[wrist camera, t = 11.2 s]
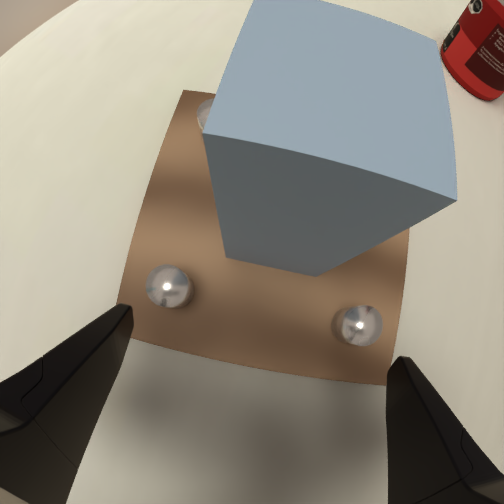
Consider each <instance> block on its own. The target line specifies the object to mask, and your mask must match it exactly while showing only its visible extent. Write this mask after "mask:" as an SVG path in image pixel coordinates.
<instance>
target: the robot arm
mask: <svg viewBox="0 0 504 504" xmlns="http://www.w3.org/2000/svg"><path fill="white" fill-rule="evenodd" d="M133 328H134V318H133V309H132V306H130V305H128V304H124V303H119V304H117V305H116V306H114V307H113V308H111V309H110V310H108V311H107V312H105V313H104V314H102V315H101V316H99V317H98V318H97V319H95V320H94V321H92V322H91V323H89V324H88V325H86V326H85V327H83V328H82V329H80V330H79V331H78V332H76V333H75V334H73V335H72V336H70V337H69V338H67V339H66V340H65V341H63V342H62V343H60V344H59V345H57V346H56V347H55V348H53V349H52V350H50V351H49V352H47V353H46V354H45V355H43V357H40V358H39V359H37V360H36V361H35V362H33V363H32V364H30V365H29V366H27V367H26V368H24V369H23V370H21V371H19V372H18V373H16V374H14V375H13V376H11V377H9V378H7V379H6V380H4V381H2V382H0V504H66V501H67V499H68V496H69V493H70V490H71V487H72V485H73V482H74V479H75V477H76V474H77V471H78V468H79V466H80V463H81V460H82V458H83V455H84V453H85V450H86V448H87V445H88V443H89V440H90V438H91V435H92V433H93V430H94V428H95V426H96V423H97V421H98V418H99V416H100V414H101V411H102V409H103V407H104V404H105V402H106V400H107V397H108V395H109V393H110V390H111V388H112V386H113V384H114V381H115V379H116V377H117V375H118V373H119V370H120V368H121V365H122V362H123V359H124V356H125V352H126V349H127V346H128V343H129V340H130V337H131V334H132V331H133ZM386 427H387V448H388V504H504V474H502V473H501V472H500V471H499V470H498V469H497V467H496V466H495V465H494V464H493V463H492V462H491V460H490V459H489V458H488V457H487V456H486V455H485V453H484V452H483V451H482V450H481V449H480V447H479V446H478V445H477V444H476V443H475V441H474V440H473V439H472V437H471V436H470V435H469V433H468V432H467V431H466V429H465V428H464V427H463V425H462V424H461V423H460V421H459V420H458V419H457V417H456V416H455V415H454V413H453V412H452V411H451V409H450V408H449V407H448V405H447V404H446V403H445V401H444V400H443V399H442V397H441V396H440V395H439V394H438V392H437V391H436V390H435V388H434V387H433V386H432V384H431V383H430V382H429V381H428V379H427V378H426V377H425V376H424V374H423V373H422V372H421V370H420V369H419V368H418V367H417V365H416V364H415V363H414V362H413V360H412V359H411V358H410V357H405V356H399V357H398V358H397V359H396V360H395V362H394V363H393V364H392V366H391V367H390V368H389V370H388V372H387V387H386Z"/></svg>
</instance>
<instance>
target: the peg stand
mask: <svg viewBox="0 0 504 504" xmlns="http://www.w3.org/2000/svg"><path fill="white" fill-rule="evenodd" d="M215 96H216V94H212V93H205V92H197V91H189V90H183V92H182V95H181V97H180V100H179V102H178V105H177V107H176V110H175V112H174V115H173V117H172V120H171V122H170V125H169V128H168V130H167V133H166V135H165V138H164V141H163V144H162V146H161V149H160V152H159V155H158V158H157V161H156V163H155V166H154V169H153V172H152V175H151V178H150V181H149V184H148V188H147V191H146V194H145V197H144V200H143V203H142V207H141V210H140V213H139V217H138V220H137V224H136V227H135V231H134V234H133V238H132V242H131V245H130V249H129V253H128V257H127V261H126V265H125V269H124V273H123V277H122V281H121V285H120V290H119V294H118V299H117V303H116V305H117V304H119V303H124V304H128V305H130V306H132V309H133V318H134V328H133V331H132V334H131V337H130V338H133V339H137V340H140V341H144V342H147V343H151V344H154V345H158V346H162V347H165V348H169V349H173V350H177V351H181V352H185V353H189V354H193V355H197V356H202V357H206V358H210V359H215V360H219V361H224V362H229V363H233V364H238V365H243V366H248V367H253V368H259V369H264V370H270V371H275V372H281V373H287V374H294V375H300V376H307V377H314V378H321V379H328V380H336V381H345V382H354V383H363V384H374V385H385V386H386V384H387V372H388V370H389V368H390V366H391V361H392V357H393V352H394V346H395V341H396V336H397V330H398V324H399V318H400V311H401V305H402V298H403V290H404V282H405V273H406V264H407V254H408V242H409V228H408V229H406V230H404V231H402V232H401V233H399V234H397V235H395V236H393V237H391V238H390V239H388V240H386V241H384V242H382V243H380V244H378V245H377V246H375V247H373V248H371V249H369V250H367V251H365V252H363V253H361V254H359V255H358V256H356V257H354V258H352V259H350V260H348V261H346V262H344V263H342V264H340V265H338V266H336V267H334V268H332V269H330V270H328V271H327V272H325V273H323V274H321V275H319V276H317V277H314V276H309V275H304V274H300V273H295V272H290V271H285V270H281V269H276V268H272V267H267V266H262V265H258V264H253V263H248V262H244V261H239V260H235V259H230V258H226V255H225V250H224V245H223V240H222V235H221V230H220V225H219V220H218V215H217V209H216V204H215V199H214V194H213V188H212V183H211V177H210V172H209V167H208V161H207V156H206V150H205V144H204V139H203V130H204V127H205V124H206V121H207V118H208V115H209V112H210V110H211V107H212V104H213V101H214V98H215Z"/></svg>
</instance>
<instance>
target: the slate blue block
mask: <svg viewBox="0 0 504 504" xmlns="http://www.w3.org/2000/svg"><path fill="white" fill-rule="evenodd" d="M203 139H204V144H205V150H206V156H207V161H208V167H209V172H210V177H211V183H212V188H213V194H214V199H215V204H216V209H217V215H218V220H219V225H220V230H221V235H222V240H223V245H224V250H225V255H226V258H230V259H235V260H239V261H244V262H248V263H253V264H258V265H262V266H267V267H272V268H276V269H281V270H285V271H290V272H295V273H300V274H304V275H309V276H314V277H317V276H319V275H321V274H323V273H325V272H327V271H328V270H330V269H332V268H334V267H336V266H338V265H340V264H342V263H344V262H346V261H348V260H350V259H352V258H354V257H356V256H358V255H359V254H361V253H363V252H365V251H367V250H369V249H371V248H373V247H375V246H377V245H378V244H380V243H382V242H384V241H386V240H388V239H390V238H391V237H393V236H395V235H397V234H399V233H401V232H402V231H404V230H406V229H408V228H410V227H411V226H413V225H415V224H417V223H419V222H420V221H422V220H424V219H426V218H428V217H429V216H431V215H433V214H435V213H436V212H438V211H440V210H442V209H443V208H445V207H447V206H449V205H450V204H452V203H454V202H456V201H457V178H456V162H455V149H454V139H453V130H452V122H451V115H450V108H449V101H448V95H447V89H446V84H445V79H444V74H443V69H442V64H441V60H440V55H439V51H438V47H437V43H436V41H435V40H432V39H430V38H428V37H426V36H424V35H421V34H419V33H417V32H414V31H412V30H410V29H407V28H405V27H402V26H400V25H397V24H394V23H392V22H389V21H386V20H384V19H381V18H378V17H375V16H372V15H369V14H366V13H363V12H360V11H357V10H353V9H350V8H346V7H343V6H339V5H336V4H332V3H328V2H324V1H320V0H254V1H253V3H252V5H251V8H250V10H249V12H248V15H247V17H246V19H245V22H244V24H243V26H242V29H241V31H240V33H239V36H238V38H237V41H236V43H235V46H234V48H233V51H232V53H231V56H230V58H229V61H228V63H227V66H226V69H225V71H224V74H223V77H222V79H221V82H220V85H219V87H218V90H217V93H216V96H215V98H214V101H213V104H212V107H211V110H210V112H209V115H208V118H207V121H206V124H205V127H204V130H203Z"/></svg>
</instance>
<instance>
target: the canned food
mask: <svg viewBox="0 0 504 504" xmlns="http://www.w3.org/2000/svg"><path fill="white" fill-rule="evenodd" d="M441 56H442V59H443V62H444V64H445V66H446V67H447V69H448V71H449V72H450V73H451V75H452V76H453V77H454V78H455V79H456V81H457V82H458V83H459V84H460V85H461V86H462V87H464V88H465V89H466V90H467V91H468V92H470V93H471V94H473V95H474V96H476V97H478V98H480V99H483V100H488V101H490V100H493V99H496V98H498V97H499V96H501V95H502V94H503V93H504V0H471V1H470V2H469V4H468V6H467V7H466V9H465V10H464V12H463V13H462V15H461V16H460V18H459V19H458V21H457V22H456V24H455V25H454V27H453V28H452V30H451V31H450V33H449V34H448V36H447V37H446V38H445V40H444V41H443V44H442V48H441Z"/></svg>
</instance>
